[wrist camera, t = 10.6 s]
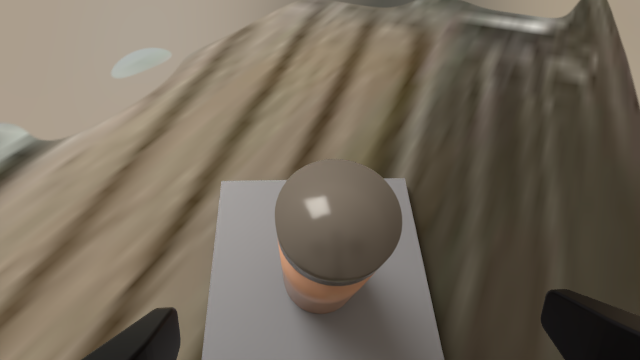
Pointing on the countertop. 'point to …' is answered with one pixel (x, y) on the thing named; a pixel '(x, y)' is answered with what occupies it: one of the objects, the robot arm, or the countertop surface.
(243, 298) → the gray board
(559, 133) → the countertop surface
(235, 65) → the countertop surface
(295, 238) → the terracotta jar
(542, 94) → the countertop surface
